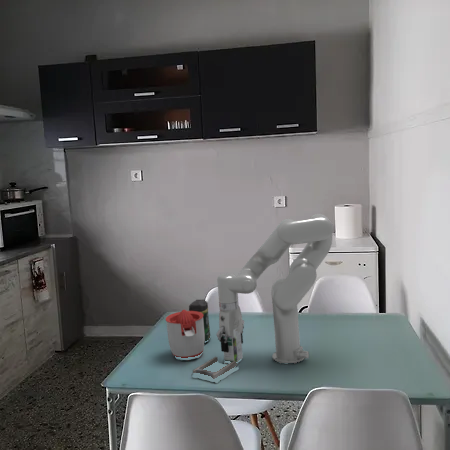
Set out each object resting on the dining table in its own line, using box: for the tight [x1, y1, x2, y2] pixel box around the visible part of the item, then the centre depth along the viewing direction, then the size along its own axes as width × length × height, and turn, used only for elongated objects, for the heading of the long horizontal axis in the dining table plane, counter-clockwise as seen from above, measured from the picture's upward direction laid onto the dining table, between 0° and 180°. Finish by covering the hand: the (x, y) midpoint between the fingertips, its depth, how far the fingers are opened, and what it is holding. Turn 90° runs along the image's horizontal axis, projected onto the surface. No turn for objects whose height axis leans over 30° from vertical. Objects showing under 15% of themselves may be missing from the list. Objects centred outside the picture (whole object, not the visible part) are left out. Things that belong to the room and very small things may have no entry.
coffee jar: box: [188, 299, 211, 341], centre depth 226 cm, size 10×8×19 cm
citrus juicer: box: [165, 309, 205, 358], centre depth 210 cm, size 16×17×20 cm
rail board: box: [192, 356, 238, 379], centre depth 193 cm, size 12×14×3 cm
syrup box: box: [223, 327, 244, 362], centre depth 202 cm, size 6×6×14 cm
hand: (232, 347), depth 202 cm, fingers open, 9 cm apart
